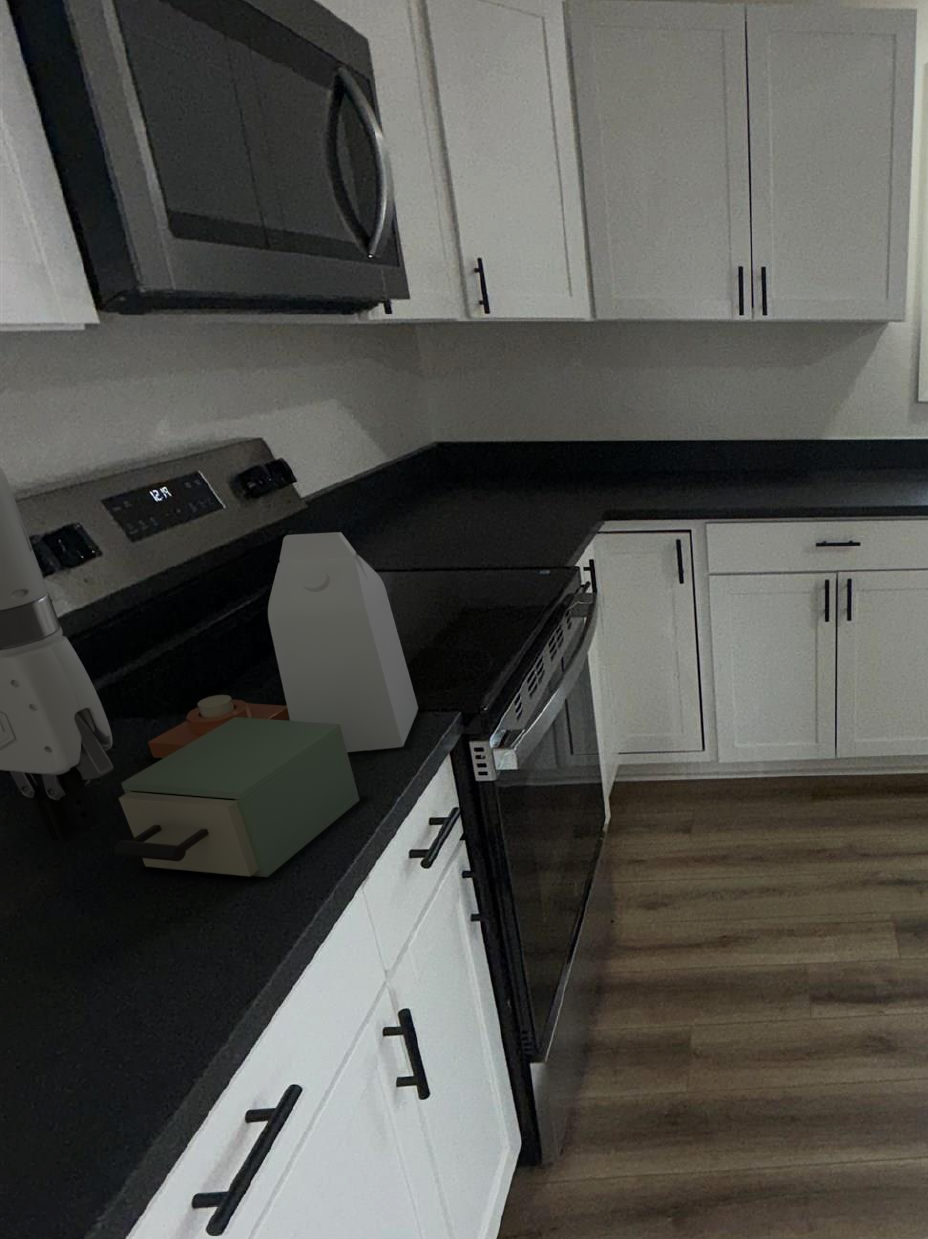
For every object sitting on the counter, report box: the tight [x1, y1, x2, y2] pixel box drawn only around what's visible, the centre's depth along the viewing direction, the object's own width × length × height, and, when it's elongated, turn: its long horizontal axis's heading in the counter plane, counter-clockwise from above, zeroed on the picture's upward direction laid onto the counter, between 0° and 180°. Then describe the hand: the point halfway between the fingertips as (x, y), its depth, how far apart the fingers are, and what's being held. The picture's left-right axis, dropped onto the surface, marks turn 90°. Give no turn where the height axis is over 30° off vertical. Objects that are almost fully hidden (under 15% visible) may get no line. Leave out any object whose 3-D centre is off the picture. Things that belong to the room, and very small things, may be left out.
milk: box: [267, 531, 419, 753], centre depth 109 cm, size 12×12×26 cm
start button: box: [197, 694, 235, 718], centre depth 111 cm, size 4×4×2 cm
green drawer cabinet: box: [120, 717, 360, 878], centre depth 91 cm, size 15×13×10 cm
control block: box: [147, 699, 290, 759], centre depth 112 cm, size 12×10×4 cm
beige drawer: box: [113, 792, 259, 877], centre depth 88 cm, size 18×11×8 cm, turn 172°
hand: (74, 831), depth 73 cm, fingers closed
